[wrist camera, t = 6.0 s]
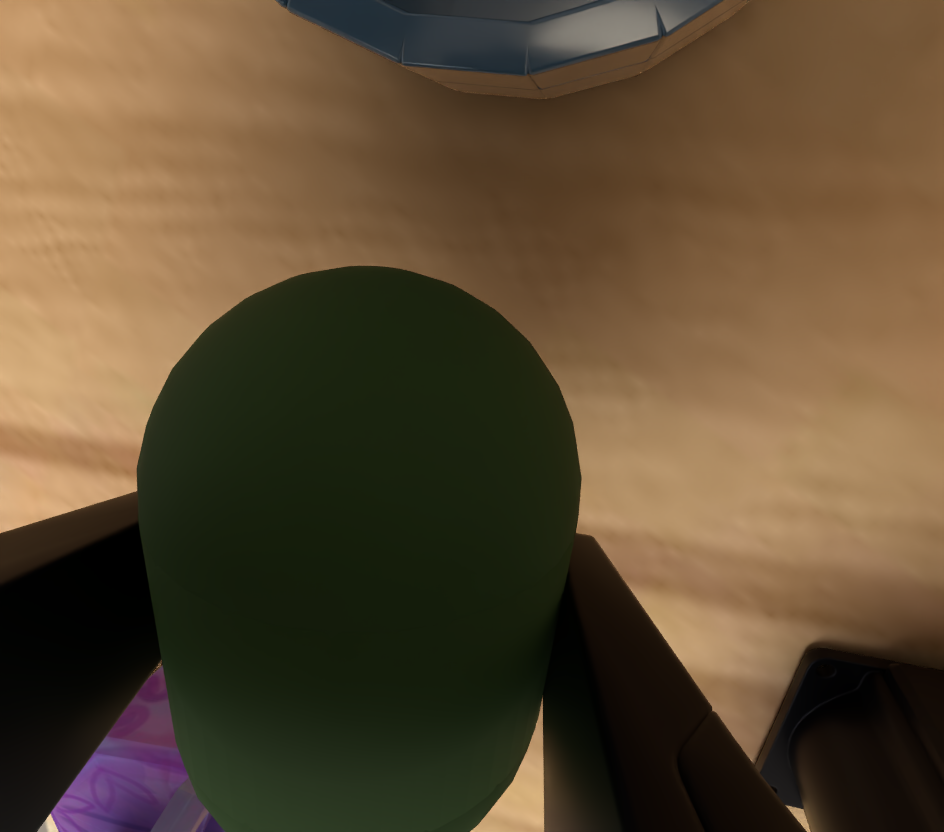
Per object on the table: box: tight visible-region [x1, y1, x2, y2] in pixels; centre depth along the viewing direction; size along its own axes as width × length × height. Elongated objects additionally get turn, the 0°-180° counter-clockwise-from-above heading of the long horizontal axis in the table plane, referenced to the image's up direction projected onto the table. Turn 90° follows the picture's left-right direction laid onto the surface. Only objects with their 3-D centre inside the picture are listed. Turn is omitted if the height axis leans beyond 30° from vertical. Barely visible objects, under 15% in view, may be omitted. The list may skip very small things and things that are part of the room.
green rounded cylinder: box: [137, 266, 581, 832], centre depth 8 cm, size 8×5×5 cm, turn 174°
